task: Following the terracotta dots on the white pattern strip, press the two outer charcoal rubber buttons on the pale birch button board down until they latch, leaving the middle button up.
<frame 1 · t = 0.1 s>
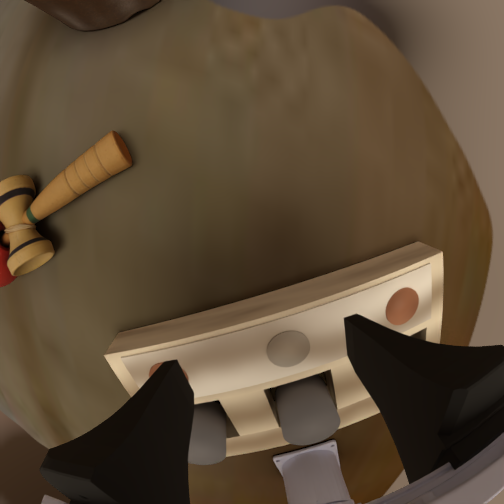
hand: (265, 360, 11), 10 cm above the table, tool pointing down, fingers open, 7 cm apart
button 2: (305, 409, 19), point 4 cm above the table, slide at 0.0 cm
button board: (292, 364, 23), on the table
kendama: (51, 208, 18), on the table
button 3: (200, 432, 19), point 4 cm above the table, slide at 0.0 cm
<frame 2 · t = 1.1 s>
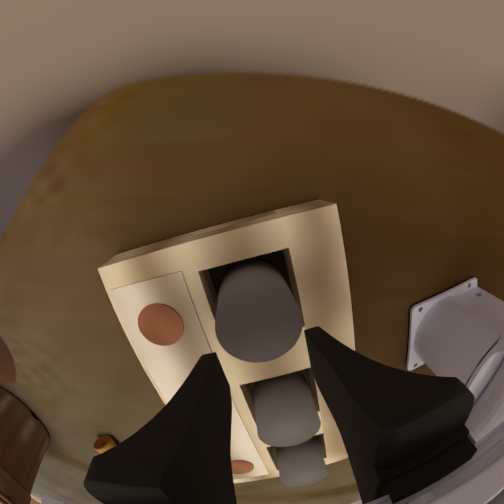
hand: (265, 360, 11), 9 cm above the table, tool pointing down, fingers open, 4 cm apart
button 2: (284, 408, 18), point 4 cm above the table, slide at 0.0 cm
plant pot: (19, 414, 24), on the table
button board: (259, 377, 22), on the table
kendama: (147, 468, 27), on the table
button 3: (300, 460, 20), point 4 cm above the table, slide at 0.0 cm
button 1: (255, 308, 16), point 4 cm above the table, slide at 0.0 cm
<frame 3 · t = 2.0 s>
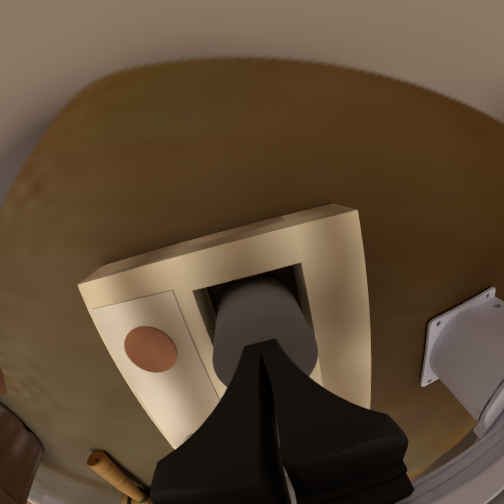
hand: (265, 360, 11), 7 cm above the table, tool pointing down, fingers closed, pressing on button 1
button 2: (291, 436, 15), point 4 cm above the table, slide at 0.0 cm
plant pot: (12, 424, 21), on the table
button board: (263, 399, 19), on the table
kendama: (144, 483, 24), on the table
button 3: (306, 483, 18), point 4 cm above the table, slide at 0.0 cm
button 1: (261, 333, 13), point 4 cm above the table, slide at 0.1 cm, touching gripper
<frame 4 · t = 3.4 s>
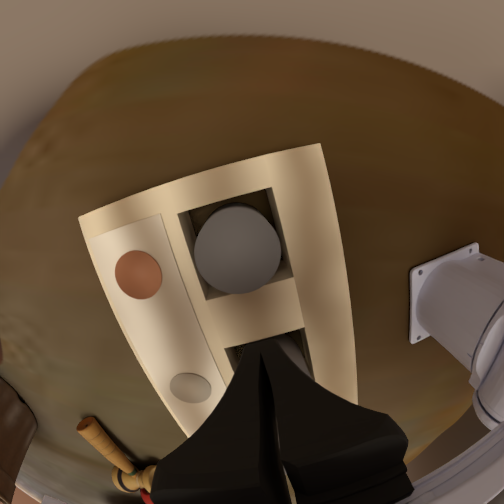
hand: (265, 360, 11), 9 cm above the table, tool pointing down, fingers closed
button 2: (275, 377, 17), point 4 cm above the table, slide at 0.0 cm
plant pot: (7, 399, 23), on the table
button board: (249, 346, 21), on the table
kendama: (135, 455, 26), on the table
button 3: (296, 444, 19), point 4 cm above the table, slide at 0.0 cm
button 1: (236, 243, 16), point 3 cm above the table, slide at 1.6 cm
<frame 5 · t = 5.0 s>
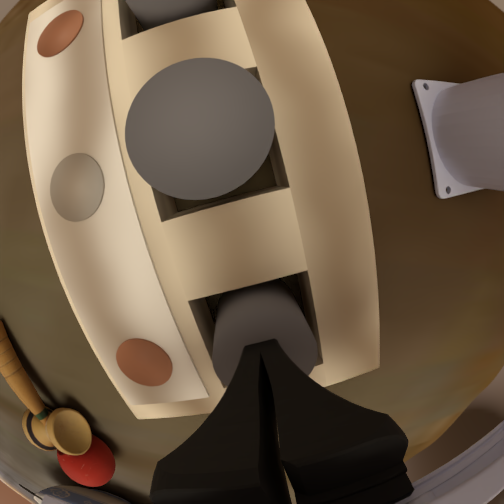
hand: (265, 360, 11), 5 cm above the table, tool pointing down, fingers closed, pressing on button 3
ramen bowl: (112, 498, 24), on the table
button 2: (204, 135, 9), point 4 cm above the table, slide at 0.0 cm
button board: (186, 157, 14), on the table
kendama: (54, 396, 18), on the table
button 3: (260, 332, 13), point 3 cm above the table, slide at 1.4 cm, touching gripper
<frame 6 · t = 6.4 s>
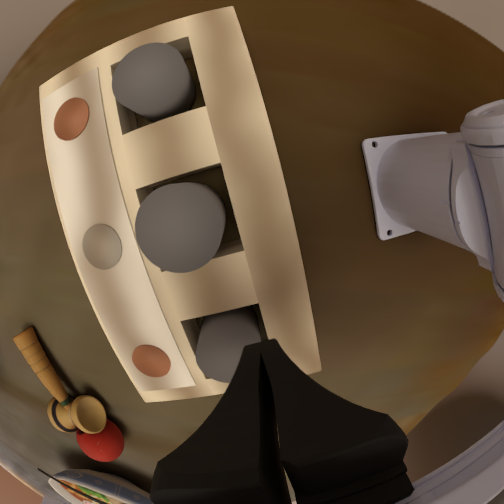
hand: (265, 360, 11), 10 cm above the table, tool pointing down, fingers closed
ramen bowl: (118, 481, 30), on the table
button 2: (185, 221, 15), point 4 cm above the table, slide at 0.0 cm
button board: (177, 217, 19), on the table
kendama: (75, 387, 24), on the table
button 3: (229, 340, 19), point 3 cm above the table, slide at 1.6 cm
button 1: (156, 85, 14), point 3 cm above the table, slide at 1.6 cm
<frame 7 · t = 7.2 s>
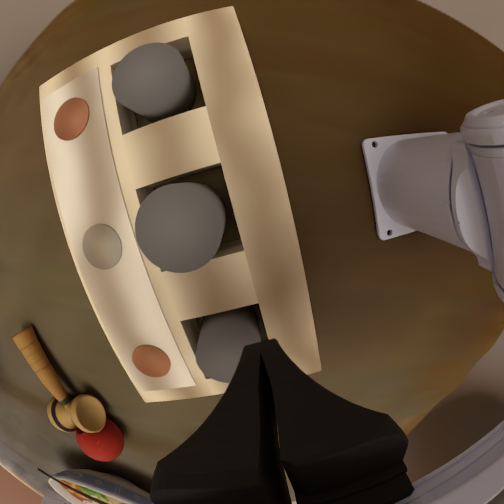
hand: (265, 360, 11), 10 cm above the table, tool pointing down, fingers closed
ramen bowl: (118, 481, 30), on the table
button 2: (185, 221, 15), point 4 cm above the table, slide at 0.0 cm
button board: (177, 217, 19), on the table
kendama: (74, 386, 24), on the table
button 3: (229, 340, 19), point 3 cm above the table, slide at 1.6 cm
button 1: (156, 85, 14), point 3 cm above the table, slide at 1.6 cm
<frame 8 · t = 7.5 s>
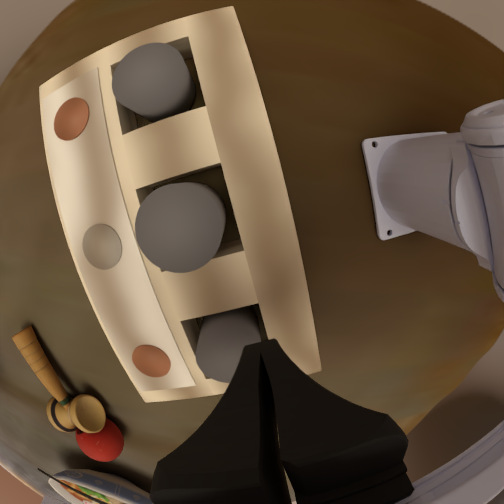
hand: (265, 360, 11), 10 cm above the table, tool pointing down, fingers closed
ramen bowl: (118, 481, 30), on the table
button 2: (185, 221, 15), point 4 cm above the table, slide at 0.0 cm
button board: (177, 217, 19), on the table
kendama: (74, 386, 24), on the table
button 3: (229, 340, 19), point 3 cm above the table, slide at 1.6 cm
button 1: (156, 85, 14), point 3 cm above the table, slide at 1.6 cm
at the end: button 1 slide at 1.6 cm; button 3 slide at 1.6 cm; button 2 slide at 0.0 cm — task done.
